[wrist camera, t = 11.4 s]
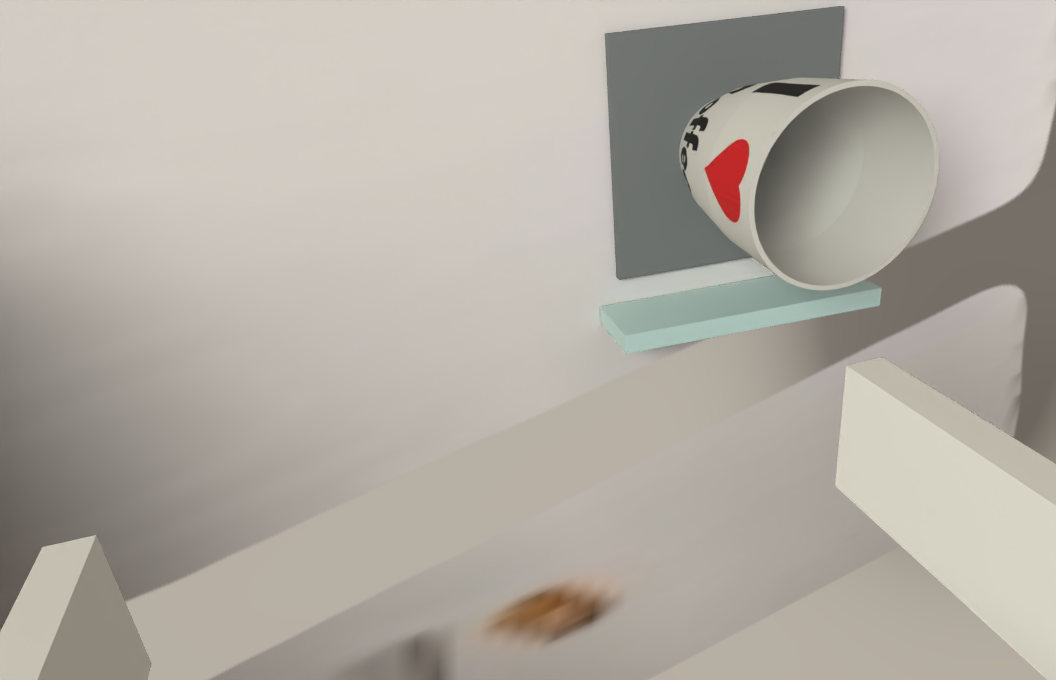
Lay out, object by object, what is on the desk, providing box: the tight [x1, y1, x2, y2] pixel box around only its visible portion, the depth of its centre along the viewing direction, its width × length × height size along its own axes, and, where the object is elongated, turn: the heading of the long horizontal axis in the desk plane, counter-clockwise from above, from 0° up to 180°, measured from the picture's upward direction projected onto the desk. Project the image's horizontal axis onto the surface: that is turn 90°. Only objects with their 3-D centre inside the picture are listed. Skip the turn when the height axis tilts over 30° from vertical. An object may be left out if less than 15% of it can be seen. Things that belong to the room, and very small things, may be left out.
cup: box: [679, 78, 939, 290], centre depth 34 cm, size 8×8×10 cm
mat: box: [605, 6, 844, 280], centre depth 38 cm, size 12×12×1 cm
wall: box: [600, 275, 882, 354], centre depth 40 cm, size 14×1×4 cm, turn 95°
